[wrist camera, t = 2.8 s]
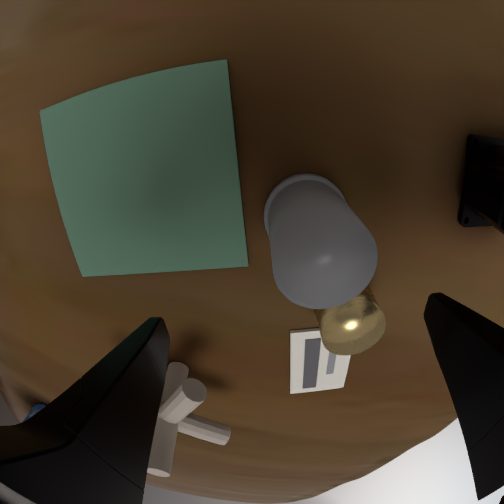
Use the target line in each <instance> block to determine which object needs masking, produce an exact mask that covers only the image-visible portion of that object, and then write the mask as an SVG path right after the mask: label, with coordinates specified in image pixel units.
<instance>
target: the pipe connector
mask: <svg viewBox="0 0 504 504" xmlns="http://www.w3.org/2000/svg"><path fill="white" fill-rule="evenodd" d="M188 372H189V369H188V367H187V366H186V365H185V364H183V363H181V362H171V363H170V364H169V365H168V369H167V373H166V379H165V385H164V390H163V394H162V399H161V403H160V408H159V413H158V417H157V422H156V427H155V432H154V437H153V442H152V448H151V453H150V458H149V464H148V469H147V472H148V473H150V474H153V475H157V476H162V477H169V476H170V473H171V467H172V460H173V454H174V448H175V442H176V437H177V431H179V432H182V433H185V434H187V435H190V436H193V437H197V438H200V439H203V440H206V441H209V442H213V443H216V444H220V445H225V444H226V443H227V442H228V440H229V438H230V434H231V429H230V427H229V426H228V425H224V424H221V423H218V422H215V421H212V420H209V419H206V418H203V417H200V416H198V415H195V414H192V413H191V412H192V411H193V410H194V409H195V408H196V407H198V406H199V405H200V404H201V403H202V402H203V401H204V400H205V399H206V397H207V389H206V387H205V386H204V384H203V383H202V382H200V381H199V380H197V379H193V378H189V379H187V377H188Z"/></svg>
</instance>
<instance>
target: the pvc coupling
mask: <svg viewBox="0 0 504 504" xmlns="http://www.w3.org/2000/svg"><path fill="white" fill-rule="evenodd" d="M264 224H265V228H266V232H267V234H268V236H269V238H270V248H271V258H272V268H273V276H274V280H275V283H276V285H277V287H278V288H279V290H280V291H281V293H282V294H283V295H284V296H285V297H286V298H287V299H289V300H290V301H292V302H293V303H295V304H297V305H299V306H302V307H306V308H311V309H327V308H332V307H336V306H339V305H342V304H344V303H346V302H348V301H350V300H352V299H353V298H355V297H356V296H357V295H359V294H360V293H361V292H362V291H363V290H364V289H365V288H366V286H367V285H368V284H369V282H370V281H371V279H372V277H373V275H374V273H375V270H376V267H377V262H378V250H377V245H376V242H375V240H374V237H373V236H372V234H371V233H370V231H369V230H368V229H367V228H366V226H365V225H364V224H363V223H362V221H361V220H360V219H359V218H358V217H357V215H356V214H355V213H354V212H353V211H352V210H351V208H350V207H349V206H348V205H347V203H346V200H345V198H344V196H343V194H342V193H341V191H340V190H339V189H338V188H337V187H336V186H335V185H334V184H333V183H332V182H331V181H330V180H328V179H327V178H325V177H323V176H320V175H317V174H313V173H299V174H294V175H291V176H289V177H287V178H285V179H283V180H282V181H280V182H279V183H278V184H277V185H276V186H274V188H273V189H272V190H271V192H270V193H269V195H268V197H267V199H266V202H265V205H264Z"/></svg>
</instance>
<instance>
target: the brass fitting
mask: <svg viewBox="0 0 504 504" xmlns="http://www.w3.org/2000/svg"><path fill="white" fill-rule="evenodd" d="M314 311H315V314H316V318H317V322H318V326H319V330H320V334H321V338H322V343H323V345H324V347H325V348H326V349H327V350H328V351H329V352H331V353H333V354H336V355H353V354H357V353H360V352H363V351H365V350H367V349H368V348H370V347H372V346H373V345H374V344H375V343H376V342H377V341H378V340H379V339H380V338H381V336H382V335H383V333H384V331H385V328H386V319H385V316H384V314H383V312H382V310H381V308H380V306H379V305H378V303H377V301H376V299H375V297H374V295H373V293H372V291H371V290H370V288H369V286H368V285H367V286H366V288H365V289H364V290H363V291H362V292H361V293H360V294H359V295H357V296H356V297H355V298H353V299H352V300H350V301H348V302H346V303H344V304H342V305H339V306H336V307H332V308H327V309H314Z"/></svg>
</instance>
